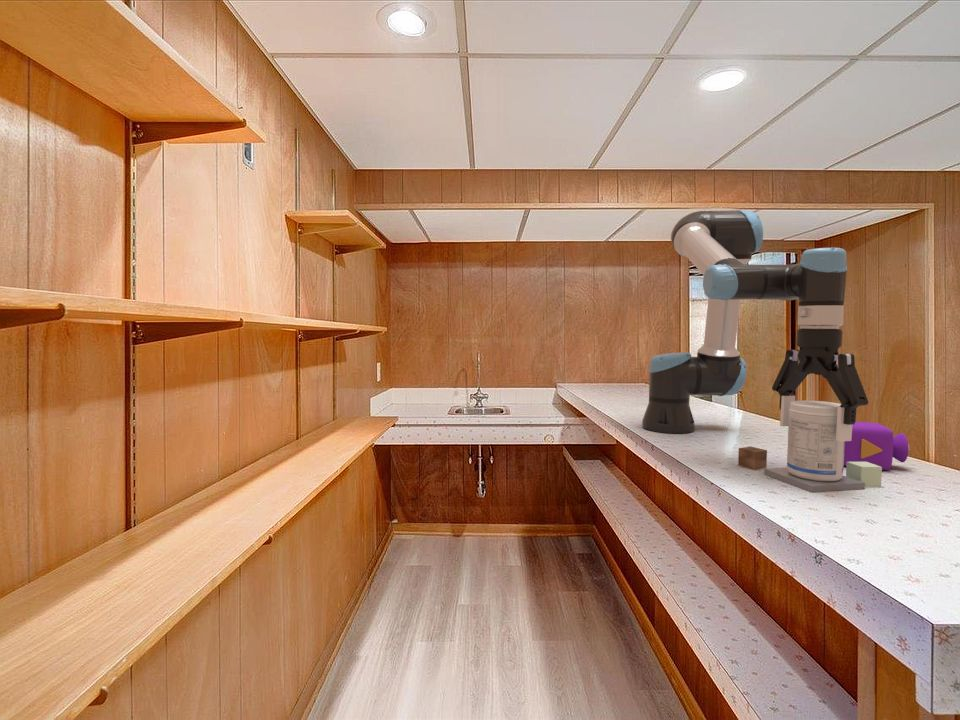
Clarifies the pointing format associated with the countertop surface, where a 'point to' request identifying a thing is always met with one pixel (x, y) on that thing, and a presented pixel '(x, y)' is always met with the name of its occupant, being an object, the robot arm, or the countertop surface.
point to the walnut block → (752, 457)
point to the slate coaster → (813, 485)
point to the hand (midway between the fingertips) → (813, 433)
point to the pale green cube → (865, 473)
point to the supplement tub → (814, 441)
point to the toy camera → (875, 445)
